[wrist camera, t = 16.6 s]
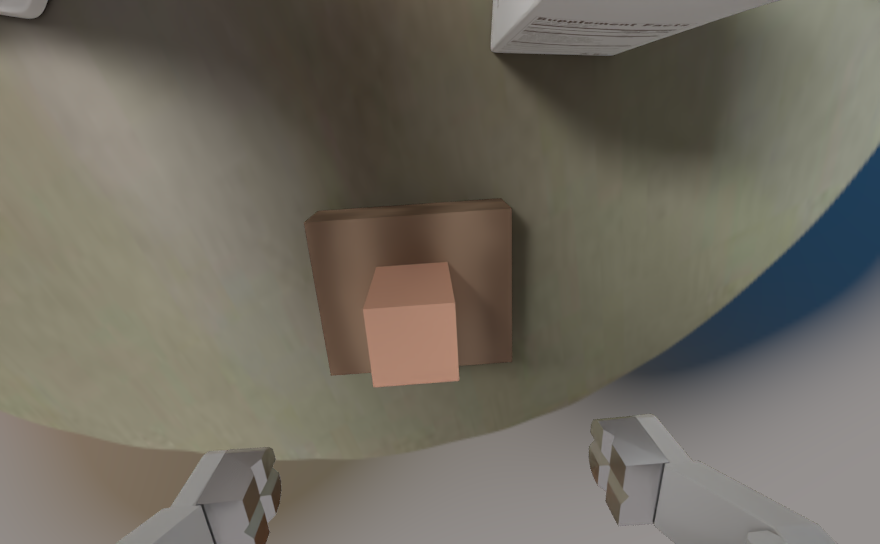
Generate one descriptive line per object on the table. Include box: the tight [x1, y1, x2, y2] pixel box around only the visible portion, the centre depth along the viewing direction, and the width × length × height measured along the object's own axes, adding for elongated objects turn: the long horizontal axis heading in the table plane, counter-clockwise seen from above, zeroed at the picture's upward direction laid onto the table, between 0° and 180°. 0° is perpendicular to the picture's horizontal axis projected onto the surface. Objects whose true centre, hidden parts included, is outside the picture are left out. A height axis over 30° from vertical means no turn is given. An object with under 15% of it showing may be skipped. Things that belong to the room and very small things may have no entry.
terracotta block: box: [363, 262, 459, 387], centre depth 26 cm, size 5×5×7 cm
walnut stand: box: [304, 198, 512, 376], centre depth 32 cm, size 14×12×4 cm
